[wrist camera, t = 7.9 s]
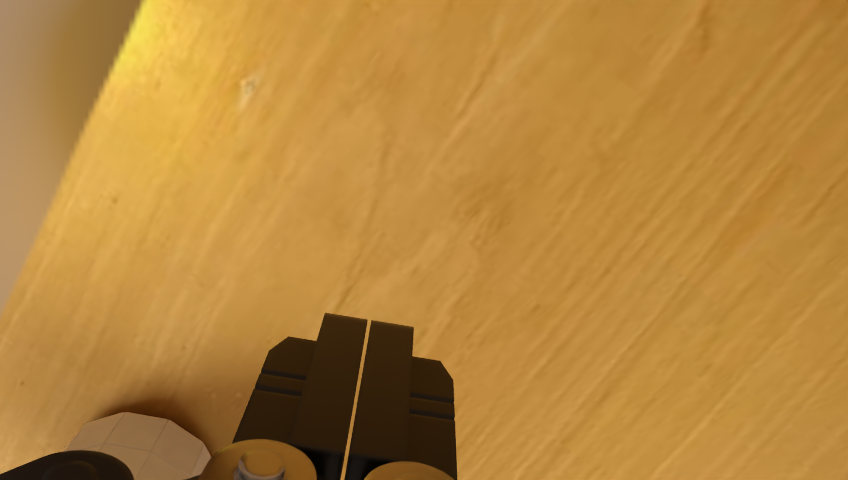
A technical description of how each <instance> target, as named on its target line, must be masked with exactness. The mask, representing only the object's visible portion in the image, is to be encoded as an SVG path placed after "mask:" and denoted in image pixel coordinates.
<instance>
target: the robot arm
mask: <svg viewBox="0 0 848 480" xmlns="http://www.w3.org/2000/svg"><path fill="white" fill-rule="evenodd" d="M367 321H368V320H366V319H360V318H354V317H348V316H342V315H336V314H330V313H325V315H324V318H323V322H322V325H321V328H320V332H319V335H318V339H317V341H312V340H306V339H300V338H294V337H287V338H286V339H284V340H283V341H282V342H280V343H279V344H278V345H276V346H275V347H274V348H272V349H271V350H270V351H269V352H268V355H267V357H266V360H265V362H264V365H263V367H262V370H261V373H260V375H259V377H258V380H257V382H256V385H255V389H254V390H253V392H252V395H251V397H250V400H249V402H248V405H247V407H246V410H245V412H244V415H243V417H242V420H241V422H240V425H239V427H238V430H237V432H236V435H235V437H234V440H233V442H232V444H231V445H228V446H226V447H224V448H222V449H221V450H219V451H218V452H216V453H215V454H214V455H213V456H212V457H211V458H210V460H209V461H208V463H207V464H206V466H205V468H204V469H203V471H202V473H201V474H200V475H197V476H194V477H191V478H189V479H184V480H340V479H341V473H342V467H343V462H344V456H345V450H346V445H347V439H348V433H349V427H350V422H351V416H352V410H353V404H354V398H355V392H356V386H357V380H358V374H359V368H360V362H361V356H362V351H363V345H364V339H365V333H366V327H367ZM413 332H414V327H410V326H404V325H398V324H392V323H386V322H379V321H373V320H371V326H370V332H369V338H368V344H367V350H366V355H365V361H364V367H363V373H362V379H361V385H360V391H359V396H358V402H357V408H356V414H355V420H354V426H353V432H352V438H351V444H350V450H349V456H348V462H347V468H346V474H345V480H457V461H456V436H455V421H454V417H455V412H454V404H453V403H454V387H453V379H452V378H451V376H450V375H449V373H448V372H447V370H446V369H445V367H444V366H443V364H442V363H441V361H437V360H431V359H425V358H419V357H413V356H412V350H413ZM0 480H134V477H133V474H132V472H131V470H130V469H129V468H128V466H127V465H126V464H125V463H123V462H122V461H121V460H119V459H118V458H116V457H114V456H112V455H109V454H106V453H102V452H97V451H89V450H71V451H64V452H59V453H54V454H50V455H47V456H44V457H42V458H39V459H36V460H34V461H32V462H29V463H27V464H24V465H22V466H19V467H17V468H14V469H12V470H10V471H7V472H5V473H2V474H0Z"/></svg>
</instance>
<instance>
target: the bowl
mask: <svg viewBox="0 0 848 480" xmlns="http://www.w3.org/2000/svg"><path fill="white" fill-rule="evenodd" d="M71 450H89V451H97V452H102V453H106V454H109V455H112V456H114V457H116V458H118V459H119V460H121V461H122V462H123V463H125V464H126V465H127V466H128V468H129V469H130V470H131V472H132V474H133V477H134V480H184V479H189V478H191V477H194V476H197V475H200V474H201V473H202V471H203V469H204V468H205V466H206V464H207V463H208V461H209V460H210V458H211V455H210V453H209V452H208V450H207V448H206V446H205V445H204V443H203V442H202V441H201V440H199V439H198V438H196V437H195V436H193V435H192V434H190V433H189V432H187V431H186V430H184V429H183V428H181V427H180V426H178V425H177V424H175V423H174V422H173V421H171V420H168V419H165V418H159V417H153V416H147V415H142V414H136V413H130V412H122V413H118V414H115V415H111V416H108V417H104V418H101V419H97V420H94V421H90V422H87V423H85V424H84V425H83V426H82V427H81V428H80V429H79V431H78V432H77V433H76V434H75V435H74V436H73V437H72V439H71V440H70V441H69V442H68V443H67V444H66V446H65V447H64V448H63V449H62V451H61V452H64V451H71Z"/></svg>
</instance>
